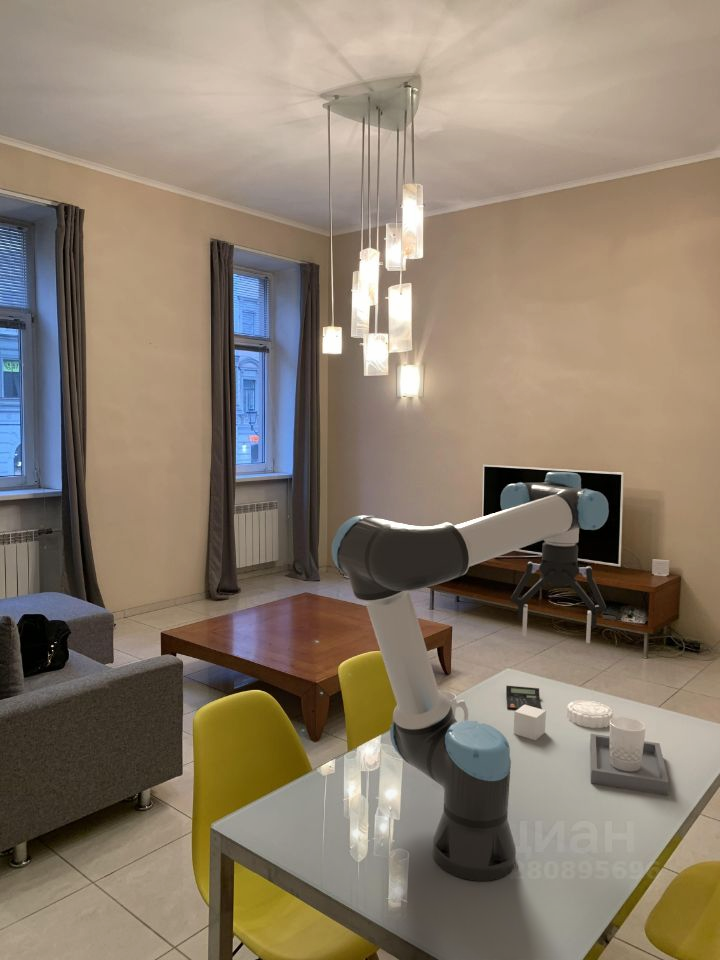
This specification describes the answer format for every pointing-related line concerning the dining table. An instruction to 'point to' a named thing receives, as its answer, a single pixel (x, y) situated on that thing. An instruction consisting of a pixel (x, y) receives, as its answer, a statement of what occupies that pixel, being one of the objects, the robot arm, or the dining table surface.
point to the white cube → (529, 722)
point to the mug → (456, 704)
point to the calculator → (522, 697)
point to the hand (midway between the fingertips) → (555, 638)
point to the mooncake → (589, 714)
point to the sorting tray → (644, 779)
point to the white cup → (626, 743)
